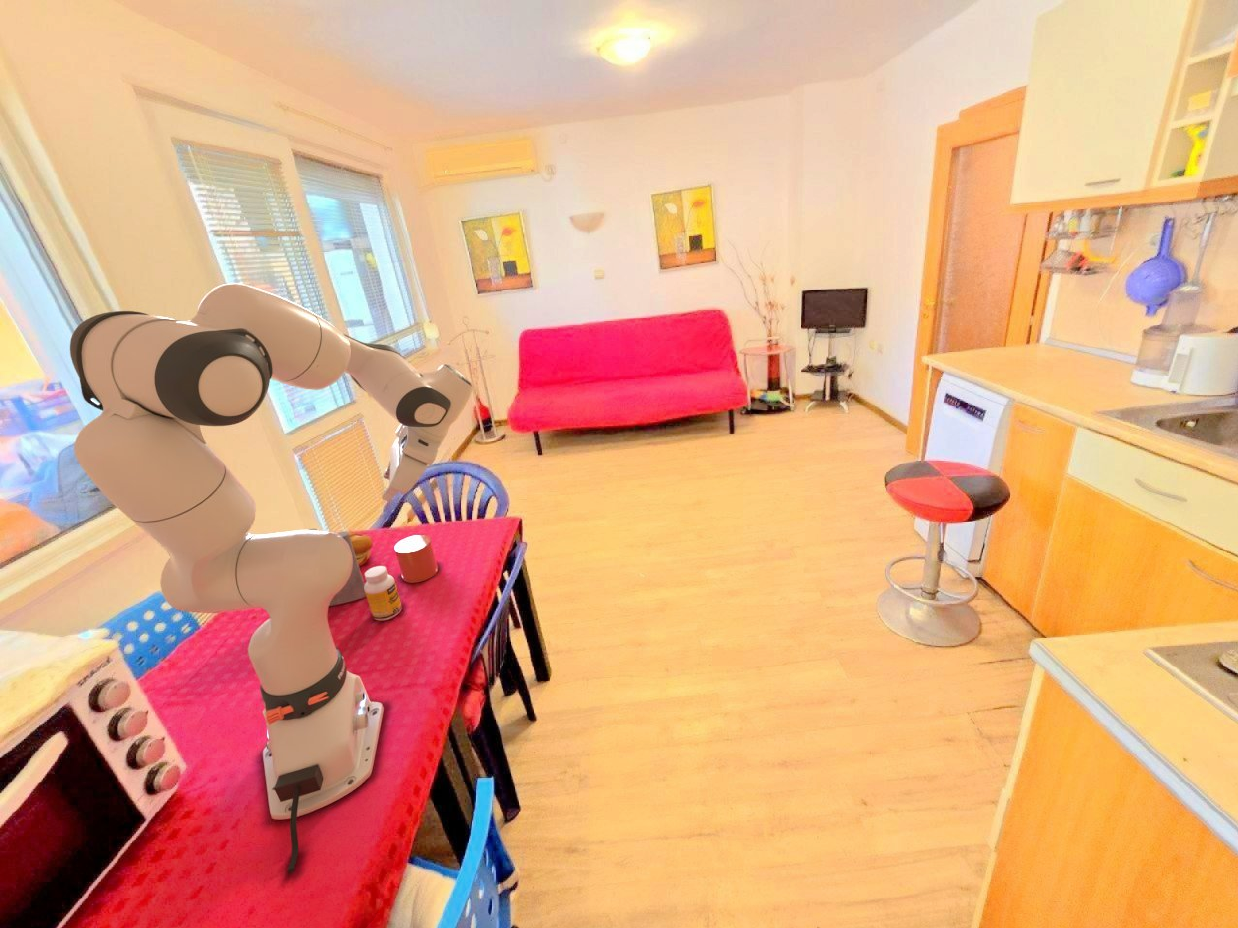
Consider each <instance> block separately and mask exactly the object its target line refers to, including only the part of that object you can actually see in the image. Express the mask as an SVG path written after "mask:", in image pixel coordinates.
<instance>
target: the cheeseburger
mask: <svg viewBox="0 0 1238 928" xmlns="http://www.w3.org/2000/svg"><path fill="white" fill-rule="evenodd" d="M347 532H348V533H349V536H350V540H351V543H352V546H353V549H354V552H355V555H356V558H357V562H358V565H359V568H360V567H362V566H364V565H365V563H367V562H368V560H369V559H370V556H371V549H372V548H373V546H374V543H373V540H372V539H371V537H370V536H368V535H367V534H359V533H356V532H351V531H347Z"/></svg>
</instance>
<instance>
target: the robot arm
mask: <svg viewBox="0 0 1238 928" xmlns="http://www.w3.org/2000/svg"><path fill="white" fill-rule="evenodd" d="M69 354H70V359H71V363H72V365H73V368H74V370H75V372H76V375H77V376H78V378H79V384H80V389H81V394H82V398H83V399H84V401H85V403H87V404H89V405H91V406H92V407H93V408H96V409H97V410H100V411H102V412H101V414H100V415H98V416H97V417H96V418H94V419H92V420H91V421H89V423H87V424H86V425H85V426H84V427H83V428H82V429H80V431H79V433H78V434H77V436H76V438H75V441H74V446H73V451H74V456H75V458H76V460H77V462H78V464H79V465H80V467H81V468H82V470H83V471H84V472H85V474H86V475H87V476H88V478H89V479H90V480H91V481H92V483H93V484H94V485H95V486H96V487H97V489H98V490H99V491H100V492H101V493H102V494H103V495H104V496H105V498H107V499H108V500H109V501H110V502H111V503H112V504H113V505H114V506H115V507H116V508H117V509H118V510H119V511H120V512H121V513H123V514H124V515H125V516H126V517H127V518H128V519H129V520H131V521H132V522H133V523H134V524H135V525H137V526H138V527H139V528H140V529H141V530H143V531H144V533H146V534H147V535H148V536H149V537H150V538H151V539H153V540H154V542H156V543H157V544H158V545H159V546H161V548H163V549H164V550H165V552H166V554H167V555H168V556H169V558H168V560H167V561H166V563H165V564H164V566H163V568H162V571H161V575H160V579H159V584H160V589H161V593H162V596H163V598H164V599H165V601H166V603H167V604H168V605H169V606H170V607H172V608H173V609H175V610H177V611H180V612H188V613H198V614H199V613H200V614H201V613H202V614H221V613H230V612H237V611H238V612H239V611H245V610H254V609H263V610H264V611H265V612H266V613H267V614H268V616H269V618H268V619H266V620H265V621H264V622H263V623H261V625H259V627H257V628H256V629H255V631H254V632H253V633H252V635H251V637H250V640H249V642H248V646H247V656H248V658H249V661H250V663H251V665H252V667H253V670H254V672H255V674H256V676H257V678H258V681H259V683H260V685H259V689H260V693H261V700H262V704H263V706H264V707H265V708H264V709H263V710H262V715H263V717H264V719H265V724H266V731H267V738H268V741H267V742H266V746H265V747H264V748H263V750H262V758H263V759H262V761H263V766H264V767H263V768H264V776H265V783H266V790H267V791H266V792H267V799H268V800H267V801H268V807H269V813H270V817H271V819H272V820H289V819H290V820H289V821H290V823H289V832H290V841H291V858H290V862H289V865H288V868H287V871H286V872H287V873H288V874H292V873H294V871H295V867H296V864H297V861H298V857H299V837H298V828H297V827H298V826H297V824H298V822H297V821H298V817H301V816H304V815H307V814H310V813H312V812H315V811H317V810H319V809H321V808H324V807H326V806H329V805H330V804H333V803H334V802H336V801H338V800H340V799H342V798H343V797H345V796H347V795H348V794H350V793H352V792H353V791H354V790H356V789H357V788H359V787H360V786H361V785H363V783H365V782H366V781H367V780H368V779H369V778H370V777H371V775H372V774H373V773H372V772H373V768H374V763H375V758H376V753H377V748H378V743H379V739H380V734H381V733H380V732H381V727H382V722H383V717H384V711H385V707H384V705H383V703H382V702H380V701H371V700H370V699H371V698H370V697H369V694H368V692H367V690H366V687H365V685H364V683H363V680H362V678H361V676H359V675H357V674H355V673H353V672H351V671H350V670H349V671H348V670H347V669H348V667H347V666H346V661H345V659H344V656H343V655H342V653H341V651H340V649H338V648H337V647H336V645H335V641H334V639H333V638H334V637H333V635H332V632H331V627H330V624H329V619H328V612H329V607H330V606H329V604H330V602H331V600H332V599H333V597H334V596H335V595H336V594H337V593H338V592H339V591H340V590H341V589H342V588H343V587H344V586H345V584H346V583H347V581H348V579H349V577H350V575H351V572H352V568H353V556H352V552H351V549H350V547H349V545H348V544H347V542H346V541H345V540H344V539H343V537H341V536H340V535H339V534H338V533H339V532H335V531H327V530H317V531H316V530H308V529H297V530H288V531H280V532H272V533H257V534H255V533H251V532H250V530H251V529H252V528H253V525H254V523H255V521H256V517H257V505H256V501H255V498H254V497H253V495H252V493H250V492H249V491H248V489H247V488H246V487H245V486H244V484H242V483H241V481H240V480H239V479H238V478H237V476H235V475H234V473H233V472H232V471H231V470H230V469H229V468H228V466H227V465H226V464H225V463H224V462H223V460H222V459H220V457H219V456H218V455H217V454H216V453H215V452H214V451H213V450H212V448H210V447H209V446H208V445H207V442H206V440H205V437H204V435H203V433H202V431H201V426H205V427H227V426H233V425H237V424H240V423H243V422H244V421H246V420H247V419H249V418H250V417H251V416H253V415H254V414H255V413H256V412H257V411H258V409H259V408H260V407H261V405H262V403H263V402H264V400H265V398H266V396H267V393H268V391H269V387H270V382H271V380H274V381H276V382H280V383H282V384H285V385H288V386H291V387H294V388H298V389H305V390H313V391H319V390H323V389H326V388H328V387H329V386H332V385H334V384H335V383H336V382H338V381H339V380H340V379H341V378H342V377H343V375H344V374H348V375H349V376H350V377H351V379H352V380H353V381H354V382H355V384H356V385H357V386H359V387H360V389H362V390H363V391H364V392H366V393H367V394H368V395H369V396H370V397H371V398H372V399H373V400H374V401H376V403H377V404H379V405H380V407H382V408H383V410H385V411H386V412H387V414H389V416H391V417H392V418H393V419H394V420H395V421H396V422H398V423H399V425H398V427H397V429H396V431H395V436H396V439H395V440H394V441H393V443H392V444H391V446H390V460H389V462H388V464H387V466H386V468H385V470H384V472H383V478H384V479H386V480H388V486H387V488H385V489H384V491H383V492H382V494H381V495H382V496H381V498H382V500H383V501H386V502H390V501H392V499H393V498H394V496H395V495H397V494H398V493H399V494H402V495H405V494H408V493H409V492H410V491H411V490H412V489H413V488H414V487H415V485H416V484H417V482H418V481H419V479H420V478H421V477H422V475H423V474H424V473H425V471H426V469H427V467H428V466H432V465H433V464H434V463H435V461H436V459H437V456H438V452H439V448H440V447H441V445H442V443H443V441H444V440H445V438H446V437H447V435H448V432H449V430H450V427H451V426H452V424H454V423H455V422H456V421H457V420H458V418H459V417H460V416H461V414H462V412H463V410H464V409H465V407H466V405H467V403H468V402H469V400H470V397H471V395H472V392H473V385H472V382H471V381H470V380H469V379H468V378H467V377H465V376H464V374H462V373H461V372H459V371H458V369H456V368H454V367H453V366H451V365H450V364H445V363H443V364H442V365H440V366H439V367H438V368H437V370H433V371H430V372H419V370H418V369H416V368H415V367H414V366H413V365H412V364H411V363H410V362H408V360H407V359H406V358H405V357H404V356H403V355H402V354H401V353H400V351H398V350H397V348H395V347H393V346H391V345H388V344H380V343H367V342H364V341H361V340H358V339H356V338H354V337H351V336H349V335H347V334H345V333H343V332H342V331H341V330H339V329H338V328H337V327H336V326H334V325H333V324H332V323H330V322H329V321H328V320H327V319H324V318H323V317H322V316H320V315H318V314H316V313H315V312H313V311H311V310H309V309H307V308H305V307H303V306H301V305H299V304H297V303H295V302H294V301H292V300H291V301H290V300H289V299H286V298H284V297H282V296H279V295H277V294H275V293H272V292H268V291H265V290H262V289H260V288H256V287H253V286H250V285H247V284H246V285H245V284H243V283H227V284H226V283H225V284H222V285H219V286H217V287H215V288H213V289H212V290H211V291H209V292H208V293H207V294H206V295H204V297H203V298H202V300H201V301H200V303H199V305H198V308H197V311H196V315H195V316H194V317H193V318H191V319H188V320H186V321H183V320H179V319H176V318H175V319H174V318H169V317H165V316H158V315H151V314H148V313H144V312H140V311H135V310H133V311H132V310H116V311H115V310H114V311H108V312H103V313H99V314H96V315H93V316H91V317H89V318H86V319H85V320H84V321H82V322H81V323H80V324H79V325H78V326H77V327H76V328H75V330H74V331H73V333H72V334H71V338H70V342H69ZM93 399H94V400H93ZM95 400H96V401H95Z"/></svg>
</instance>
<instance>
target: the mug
mask: <svg viewBox="0 0 1238 928" xmlns="http://www.w3.org/2000/svg"><path fill="white" fill-rule="evenodd" d="M394 552H395V556H396V559H397V564H398V566H399V570H400V574H401V579H402V580H403V581H404V583H405V582H406V583H409V584H414V583H420V582H424V581H426V580H428V579H431V578H432V577H434V576H436V574H437V573H438V571H439V565H438V563H437V559H436V555H435V551H434V546H433V543H432V539H431V537H430V536H428V535H425V534H416V535H411V536H408V537H405V538H403V539H401V540H399V541H398V542H397V543H396V544H395V545H394Z"/></svg>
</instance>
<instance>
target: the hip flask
mask: <svg viewBox="0 0 1238 928" xmlns="http://www.w3.org/2000/svg"><path fill="white" fill-rule="evenodd" d="M307 530H316V531H318V529H317V528H309V529H307ZM348 532H349V531H341V532H337V533H338V534H339V535H340V536H341V537H343V539H344V540H345V541H346V542H347V544H348V545H349V547H350V549H351V552H352V556H353V568H352V572H351V575H350V577H349V579H348V581H347V583H346V584H345V586H344V587H343V588H342V589H341V590H340V591H339V592H338V593H337V594H336V595H335V596H334V597H333V599H332V600H331V602H330V604H329V607H333V606H337V605H341V604H346V603H347V604H348V603H350V602H354V601H358V600H361V599H364V598H365V597H366V594H365V590H364V586H365V584H366V583H365V581H364V578H363V574H362V571H361V568H360V567H359V565H358V562H357V558H356V555H355V552H354V549H353V546H352V543H351V540H350V536H349V533H348Z"/></svg>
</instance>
